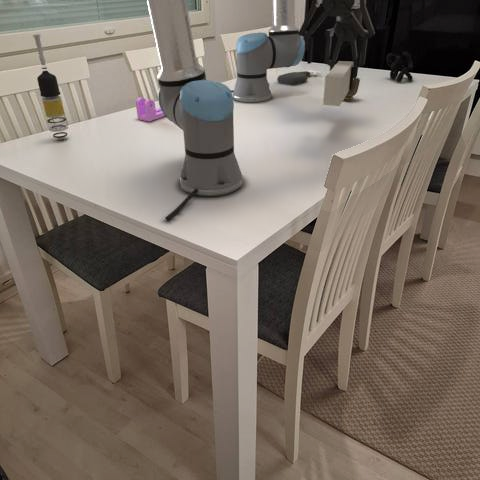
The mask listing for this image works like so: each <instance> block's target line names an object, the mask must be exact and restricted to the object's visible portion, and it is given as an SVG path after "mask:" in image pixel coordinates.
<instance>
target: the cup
mask: <svg viewBox="0 0 480 480" xmlns="http://www.w3.org/2000/svg"><path fill="white" fill-rule="evenodd" d="M360 82H361V78H359V77H356V79H355V78H353V86H352V89H351V90H349V91H348V93H347V95H346V96H345V98H344V100H343V101H346V102H347V101H348V102H350V101H353V99H354V96H356V95H357V93H358V90H359V87H360Z"/></svg>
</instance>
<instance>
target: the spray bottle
mask: <svg viewBox="0 0 480 480" xmlns="http://www.w3.org/2000/svg"><path fill="white" fill-rule="evenodd" d="M318 75H322V71H318V70H311V69H310V70H308V69H306V71H291V72H286V73H283V74H280V75H278V76H277V78H276V81H277V83H278V84H282V85H289V86H296V85H299V84H303V83H306V82H307V81H308V77H310V76H318Z"/></svg>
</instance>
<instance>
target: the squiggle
mask: <svg viewBox="0 0 480 480" xmlns="http://www.w3.org/2000/svg"><path fill="white" fill-rule="evenodd" d="M401 57H402V59H401ZM391 59H392V60H391ZM393 60H394V61H393ZM385 61H386V64H387V67H390V68H391V70H390V72H389V78H390V79H391V80H395V79H396V81H397V82H399V83H400V82H402V81H403V79H404V76H406V78H407V80H408V81H412V80H413V79H414V77H413V75H412V74H411V73H410V72H409V71H410V70H412V69H413V68H414V64H413V61H412V57H411V54H410V53H409V52H408V51H403V53H402V54H401V55H396V54H394V53H392V52H390V53H387V55H386V57H385ZM406 62H407V65H408V66H407V67H405V66H404V65H405V64H406ZM400 70H401V71H400Z"/></svg>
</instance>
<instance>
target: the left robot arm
mask: <svg viewBox="0 0 480 480" xmlns="http://www.w3.org/2000/svg"><path fill="white" fill-rule="evenodd" d="M355 3H356V4H357V6H358V7H360V10H361V13H362V20H363V22H364V25H365V27H366V29H364V27H363V24H362V23H361V24H360V22H359V21H358V20H357V18H356V17H355V15H354V13H353V12H352V10H351V8H352V6H353V5H354V4H355ZM146 4H147V7H148V13H149V16H150V21H151V27H152V30H153V35H154V38H155V40H154V41H155V43H156V49H157V53H158V57H159V63H160V66H161V69H160V71H159V73H157V81H158V87H159V89H158V93H157V101H158V106H159V108H161V110H162V112H163V114H164V115H165V116H164V117H165V118H167V120H169V121H170V122H172V123H173V124H174V125H176V126H177V127H178V128H179V129H180V130H182V132H183V143H184V154H185V155H184V158H183V164H182V168H181V171H180V177H179V183H180V184H179V185H180V188H181V189H182V191H184V192H186V193H187V194H188V195H187V196H186V198H185V199H184V200H183V201H181V203H180V204H179V205H178V206H177V207H175V209H174V210H172V211H171V212H170V213H169V214H168V215H166V216H165V220H166V221H169V220H171V219H172V218H173V217H174V216H176V215H177V214H178V213H179V212H180V211H181V210H183V208H184V207H185V206H186V205H187V204H188V203H189V201H190V200H191V199H192V198H194V196H199V197H221V196H224V195H229V194H232V193H234V192H235V191H237V190H239V189H240V188H241V187H242V185H243V174H242V171H241V168H240V165H239V163H238V160H237V157H236V154H235V132H234V131H235V130H234V127H235V126H234V109H235V105H234V99H233V92H231V88H230V87H228V86H227V85H226V84H225V83H222V82H219V81H213V80H209V79H207V76H206V70H205V68H204V66H202V65H201V64H200V63H199V62H198V61H197V54H196V48H195V44H194V37H193V32H192V26H191V21H190V15H189V8H188V3H187V0H146ZM321 4H322V6H323V8H324V11H323V12H322V13H321V14H320V16H319V17H318V18H317V19H316V21H315V22H314V23H313V24H312V26H311V27H310V28H309V29H308V27H309V25H310V23H311V21H312V19H313V17H314V15H315V13H316V11H317V9H318V8H319V7H320V6H321ZM345 15H346V16H347V17H348V18H349V20H350V21H351V23H352V24H353V25H354V27H355V28H356V30H357V31H358V33H359V36H360V37H361V38H359V39H358V44H357V45H358V46H357V64H356V66H359V65H360V63H361V54H362V52H365V50H366V51H367V48H366V45H367V46H368V40H367V39H369V38H372V37H374V36H375V34H376V30H375V28H374V25H373V23H372V20H371V17H370V14H369V11H368V8H367V0H311V5H310V8H309V9H308V12H307V14H306V16H305V19H304V20H303V22H302V25H300V26H301V27H300V29H299V33H298V34H299V35H300V36H303V38H304V41H305V51H307V64H309V65H310V64H312V63H313V54H314V53H313V51H314V37H312V35H313V34H314V33H315V31H316V30H317V29H318V28H319V27H320V25H321V24H322V23H323V22H324V21H325V19H326V18H327V17H328V16H329V17H330V18H331V17H332V18H334V17H335V18H336V16H339V17H343V16H345ZM307 29H308V30H307ZM365 30H367V31H368V33H366V31H365Z"/></svg>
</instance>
